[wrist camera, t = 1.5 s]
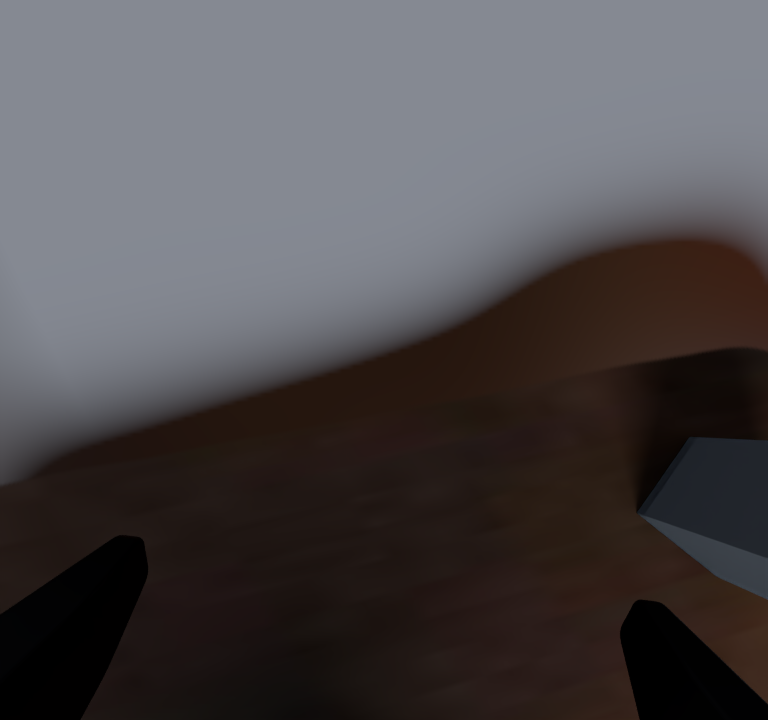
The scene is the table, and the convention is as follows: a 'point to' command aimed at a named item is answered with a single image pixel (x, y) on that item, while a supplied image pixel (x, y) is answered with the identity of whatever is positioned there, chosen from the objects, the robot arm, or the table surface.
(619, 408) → the table surface
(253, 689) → the table surface
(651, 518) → the grey hollow square tube
